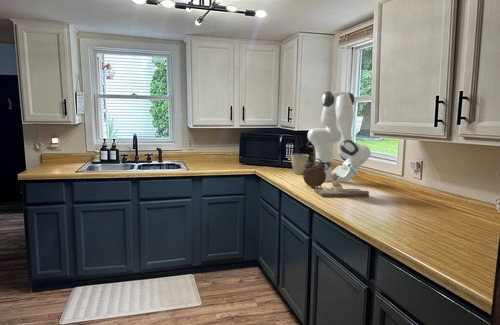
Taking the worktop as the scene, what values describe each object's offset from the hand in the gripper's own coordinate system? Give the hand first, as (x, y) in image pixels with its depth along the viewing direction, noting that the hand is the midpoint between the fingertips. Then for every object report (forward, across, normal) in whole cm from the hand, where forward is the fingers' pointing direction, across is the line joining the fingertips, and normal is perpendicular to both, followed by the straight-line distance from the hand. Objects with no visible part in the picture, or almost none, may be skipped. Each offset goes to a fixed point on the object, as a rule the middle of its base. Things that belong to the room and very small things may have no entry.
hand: (332, 182), depth 215 cm
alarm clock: (+9, -20, +2) cm, 22 cm away
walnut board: (+1, -2, +10) cm, 10 cm away
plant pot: (+5, -76, +7) cm, 76 cm away
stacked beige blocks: (+1, 0, +6) cm, 6 cm away
